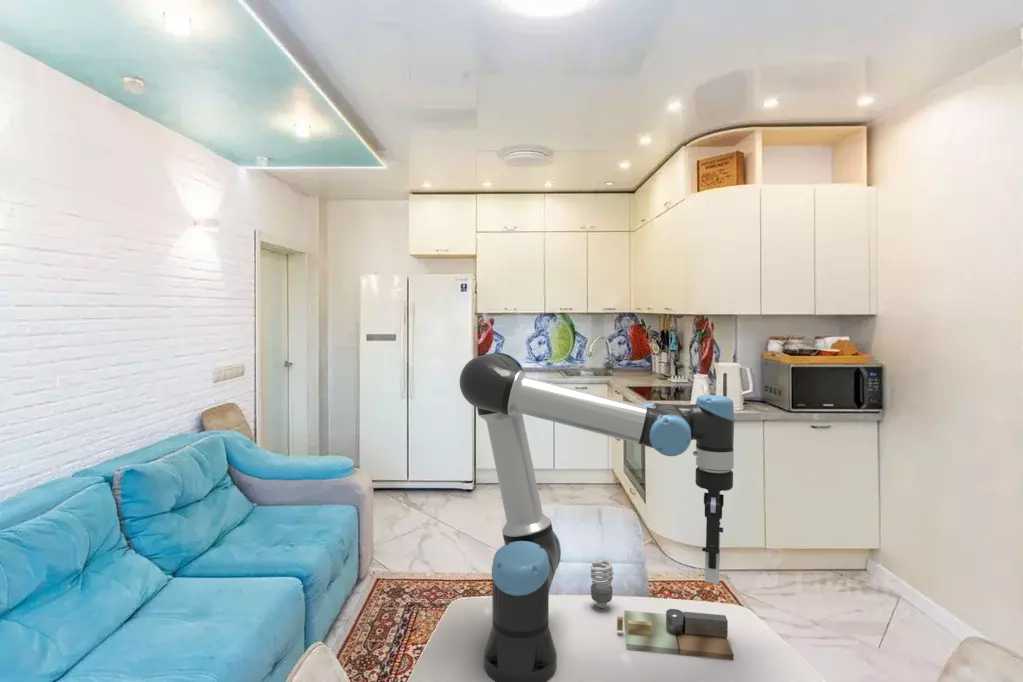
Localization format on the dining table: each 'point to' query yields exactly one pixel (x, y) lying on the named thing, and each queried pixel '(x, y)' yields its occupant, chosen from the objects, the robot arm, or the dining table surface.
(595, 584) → the light bulb
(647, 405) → the robot arm
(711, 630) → the bar
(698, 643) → the door board
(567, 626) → the dining table surface
